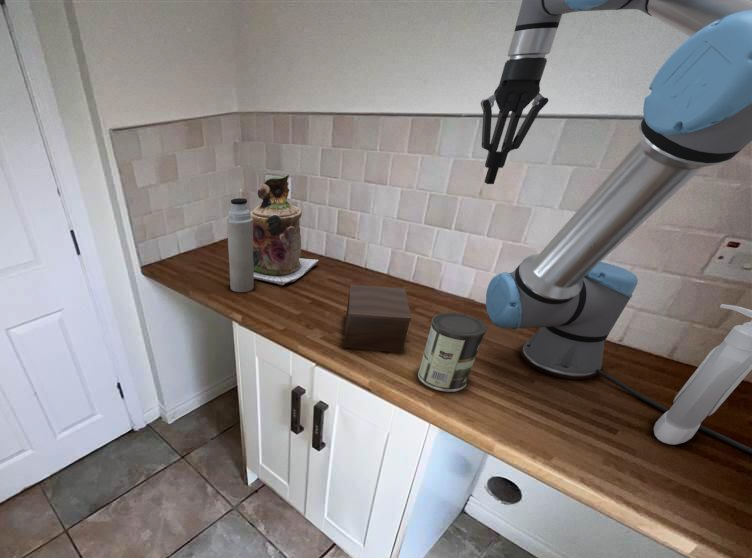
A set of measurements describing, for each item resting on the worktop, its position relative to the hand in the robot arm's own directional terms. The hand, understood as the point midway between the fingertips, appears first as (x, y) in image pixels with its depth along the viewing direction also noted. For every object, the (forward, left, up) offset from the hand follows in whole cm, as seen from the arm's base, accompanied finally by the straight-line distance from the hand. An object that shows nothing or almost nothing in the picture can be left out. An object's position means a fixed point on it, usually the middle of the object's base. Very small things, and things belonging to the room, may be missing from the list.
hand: (489, 182), depth 97 cm
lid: (-4, +28, -25) cm, 38 cm away
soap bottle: (-54, -4, -35) cm, 64 cm away
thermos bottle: (+39, +52, -35) cm, 74 cm away
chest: (-4, +28, -34) cm, 45 cm away
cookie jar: (+50, +36, -35) cm, 71 cm away
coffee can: (-27, +24, -35) cm, 50 cm away
